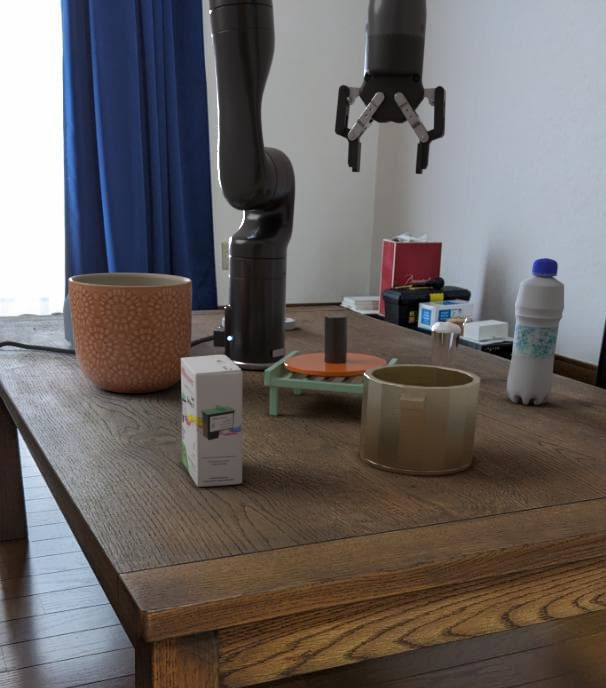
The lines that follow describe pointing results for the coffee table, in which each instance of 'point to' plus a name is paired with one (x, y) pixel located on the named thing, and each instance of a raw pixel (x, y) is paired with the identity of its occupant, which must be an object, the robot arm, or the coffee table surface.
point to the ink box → (212, 420)
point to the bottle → (536, 334)
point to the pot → (419, 419)
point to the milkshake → (444, 343)
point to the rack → (304, 382)
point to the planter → (131, 329)
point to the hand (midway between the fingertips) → (386, 173)
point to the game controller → (288, 323)
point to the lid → (334, 355)
